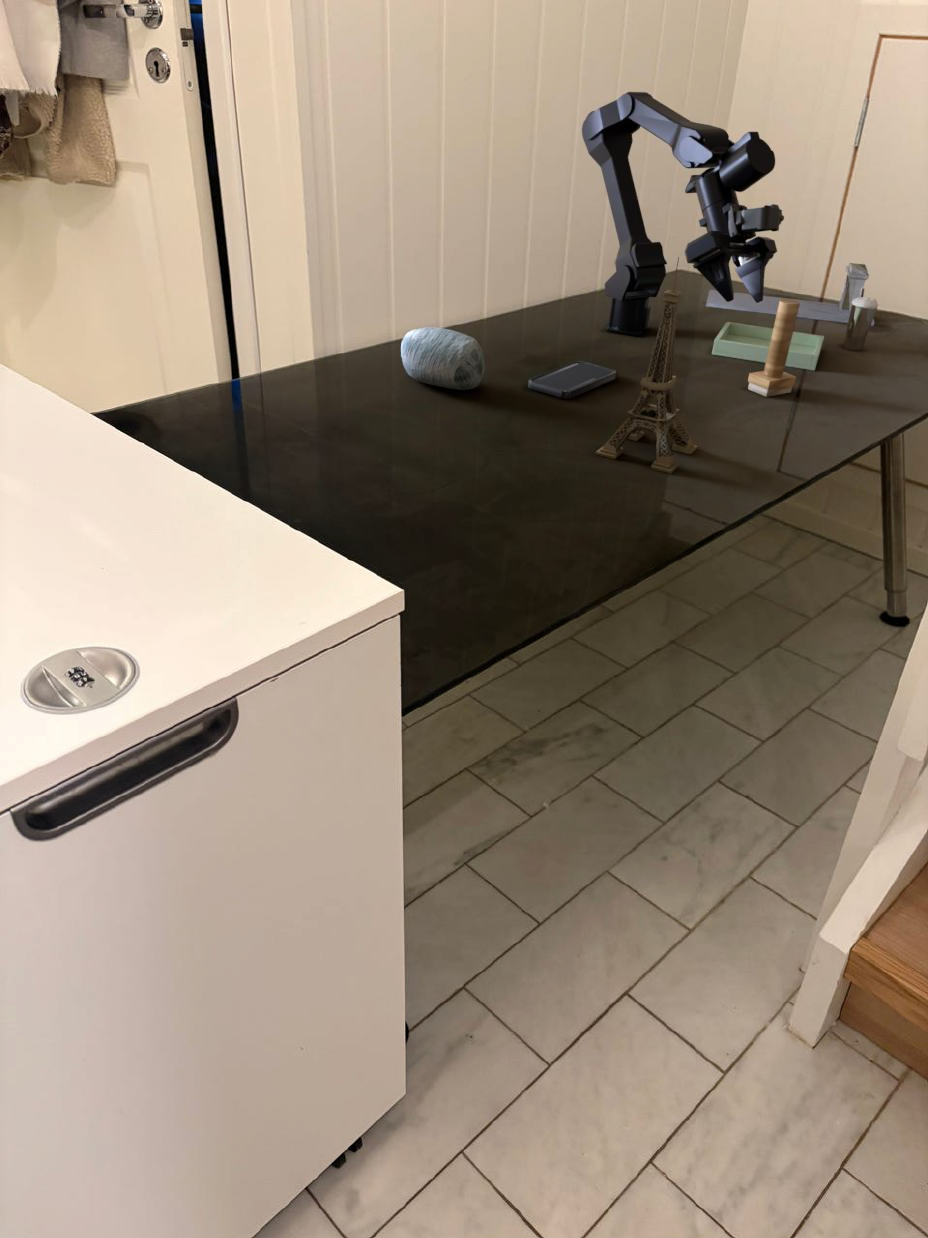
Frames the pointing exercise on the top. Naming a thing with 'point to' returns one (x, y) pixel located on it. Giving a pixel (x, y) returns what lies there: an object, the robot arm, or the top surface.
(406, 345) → the blue yarn skein
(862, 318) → the milkshake
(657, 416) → the eiffel tower
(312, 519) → the top surface
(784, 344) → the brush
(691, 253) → the robot arm
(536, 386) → the phone
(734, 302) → the monument
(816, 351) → the tray
